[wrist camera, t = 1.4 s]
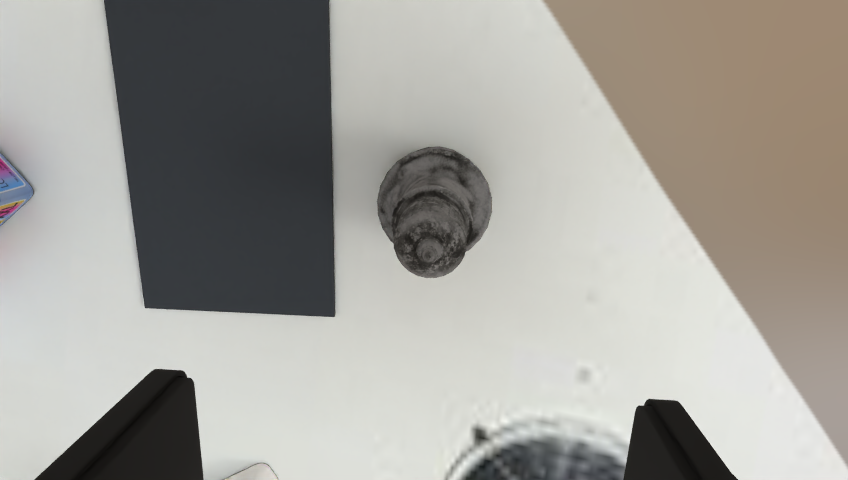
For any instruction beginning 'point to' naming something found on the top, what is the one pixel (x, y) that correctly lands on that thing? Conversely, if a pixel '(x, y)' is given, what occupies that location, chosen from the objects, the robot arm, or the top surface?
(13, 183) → the ink cartridge box
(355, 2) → the top surface
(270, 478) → the cable organizer
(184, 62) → the mat
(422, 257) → the salt shaker
